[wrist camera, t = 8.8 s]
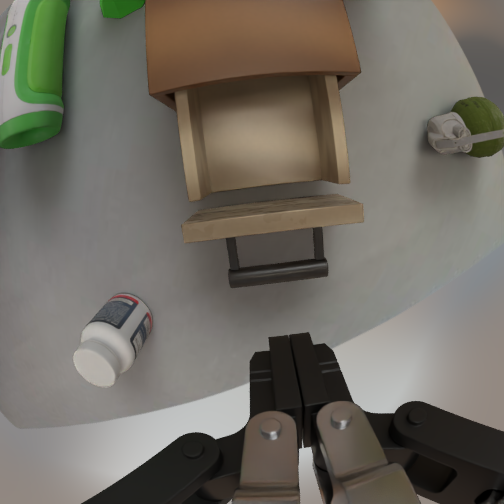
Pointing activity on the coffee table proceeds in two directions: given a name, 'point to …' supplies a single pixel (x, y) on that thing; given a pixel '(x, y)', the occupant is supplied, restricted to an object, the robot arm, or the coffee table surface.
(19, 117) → the speaker
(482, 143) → the hand grenade
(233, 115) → the dresser drawer
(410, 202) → the coffee table surface
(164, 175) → the coffee table surface
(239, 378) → the coffee table surface
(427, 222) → the coffee table surface
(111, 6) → the gemstone
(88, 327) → the pill bottle
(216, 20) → the wooden mini dresser
